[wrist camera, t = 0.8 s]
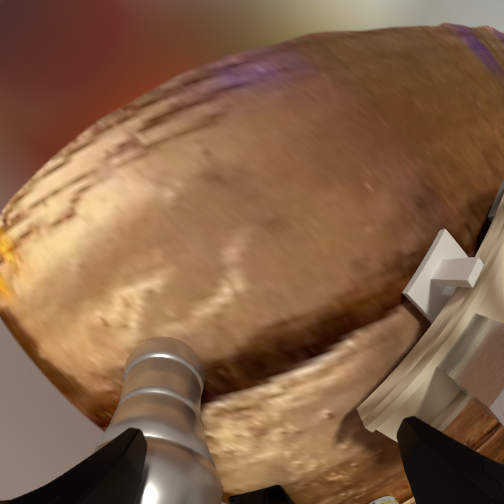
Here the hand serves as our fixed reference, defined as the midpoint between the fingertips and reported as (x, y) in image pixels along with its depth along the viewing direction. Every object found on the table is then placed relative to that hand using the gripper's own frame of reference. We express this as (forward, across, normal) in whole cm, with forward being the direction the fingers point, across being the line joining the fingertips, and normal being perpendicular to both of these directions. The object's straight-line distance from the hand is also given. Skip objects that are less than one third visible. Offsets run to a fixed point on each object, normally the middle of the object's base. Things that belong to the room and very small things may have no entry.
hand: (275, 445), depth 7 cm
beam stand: (+16, -21, +3) cm, 27 cm away
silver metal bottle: (+14, +9, +7) cm, 18 cm away
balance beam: (+15, -21, +2) cm, 26 cm away
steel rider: (+10, -18, +5) cm, 21 cm away
